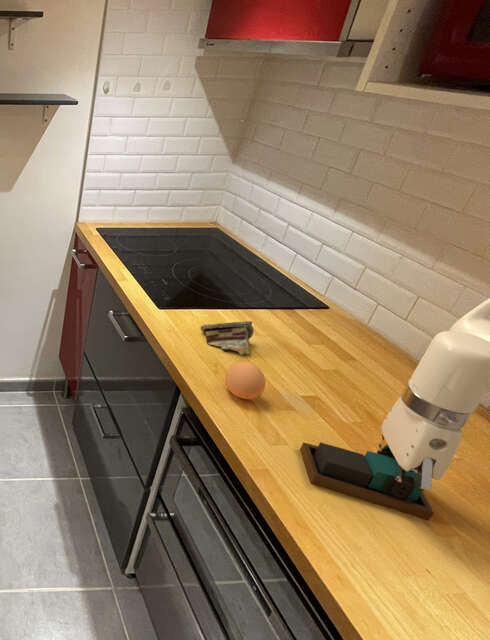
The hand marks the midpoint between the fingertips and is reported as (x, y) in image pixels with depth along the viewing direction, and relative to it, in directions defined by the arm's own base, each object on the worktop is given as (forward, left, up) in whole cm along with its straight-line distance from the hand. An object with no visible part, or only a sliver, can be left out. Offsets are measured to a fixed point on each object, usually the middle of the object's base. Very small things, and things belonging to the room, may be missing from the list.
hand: (387, 481), depth 78 cm
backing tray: (+3, 0, -2) cm, 4 cm away
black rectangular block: (+7, 0, -1) cm, 7 cm away
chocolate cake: (+21, -35, -2) cm, 41 cm away
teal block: (0, 0, 0) cm, 0 cm away
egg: (+20, -16, -2) cm, 26 cm away
